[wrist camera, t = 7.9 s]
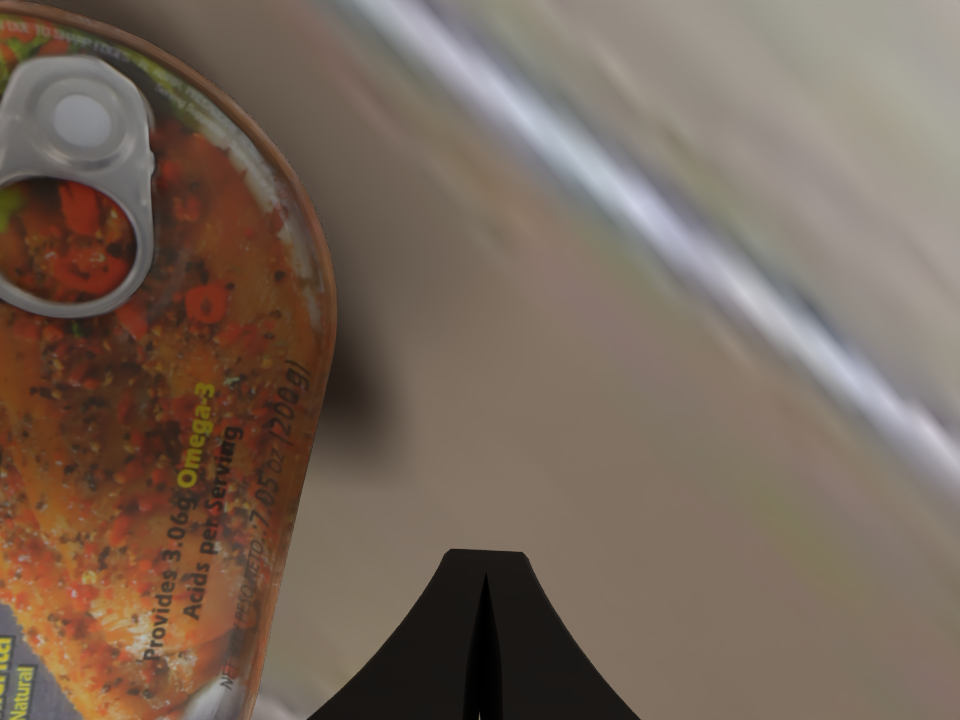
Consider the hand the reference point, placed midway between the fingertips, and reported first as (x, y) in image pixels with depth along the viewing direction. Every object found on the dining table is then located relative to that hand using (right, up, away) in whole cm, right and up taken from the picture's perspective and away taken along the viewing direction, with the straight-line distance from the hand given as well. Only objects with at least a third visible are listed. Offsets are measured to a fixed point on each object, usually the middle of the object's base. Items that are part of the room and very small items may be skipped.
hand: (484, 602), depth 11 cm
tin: (-4, +1, +2) cm, 5 cm away
